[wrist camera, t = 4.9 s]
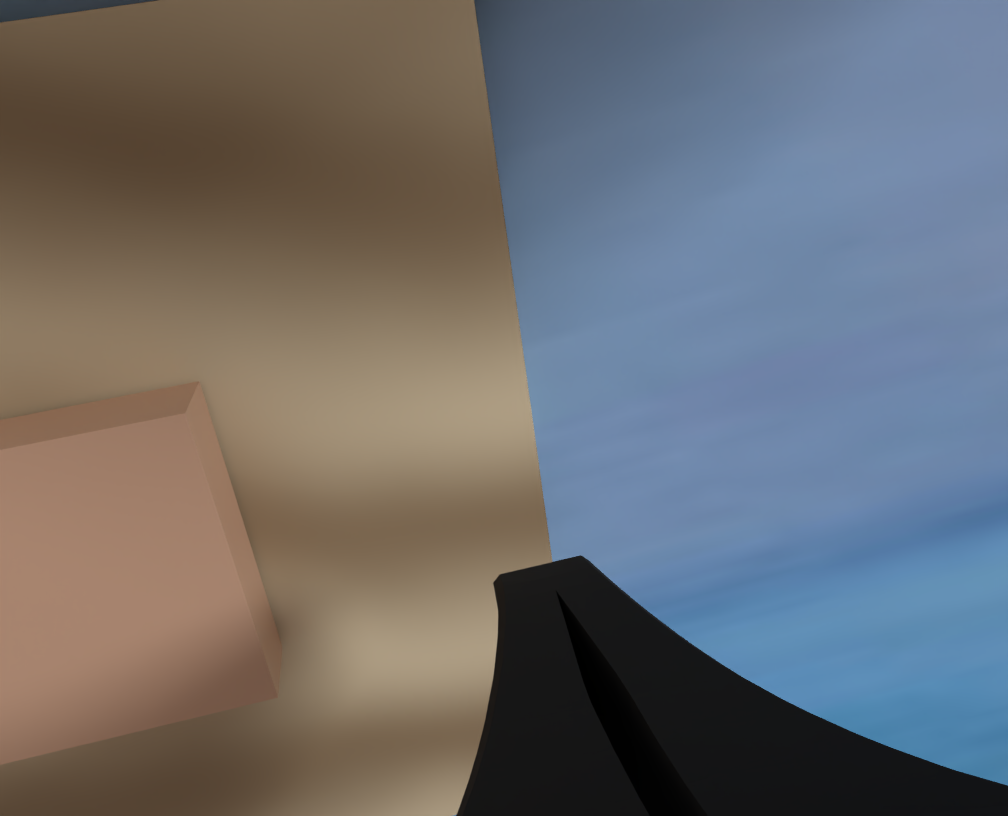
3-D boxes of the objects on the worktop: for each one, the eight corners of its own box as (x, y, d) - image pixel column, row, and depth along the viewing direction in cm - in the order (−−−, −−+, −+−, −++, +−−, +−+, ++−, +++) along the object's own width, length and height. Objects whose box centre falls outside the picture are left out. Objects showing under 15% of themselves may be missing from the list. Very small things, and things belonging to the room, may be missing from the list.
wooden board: (576, 762, 21) (582, 780, 20) (-49, 925, 19) (-60, 951, 18) (462, -39, 14) (467, -43, 13) (-561, 105, 12) (-606, 107, 11)
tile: (278, 697, 16) (-112, 792, 15) (282, 643, 17) (-72, 727, 16) (185, 412, 13) (-286, 507, 12) (200, 378, 15) (-221, 460, 14)
